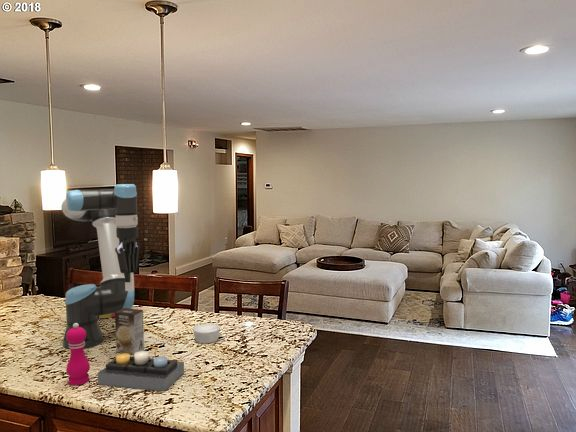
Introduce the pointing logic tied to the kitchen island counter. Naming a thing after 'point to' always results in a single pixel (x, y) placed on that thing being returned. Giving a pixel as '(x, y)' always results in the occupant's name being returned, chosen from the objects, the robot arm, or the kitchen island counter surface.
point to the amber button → (123, 358)
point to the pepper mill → (77, 356)
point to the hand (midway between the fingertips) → (129, 290)
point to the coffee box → (129, 330)
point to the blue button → (160, 362)
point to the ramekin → (206, 333)
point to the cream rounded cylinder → (141, 358)
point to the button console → (141, 375)
